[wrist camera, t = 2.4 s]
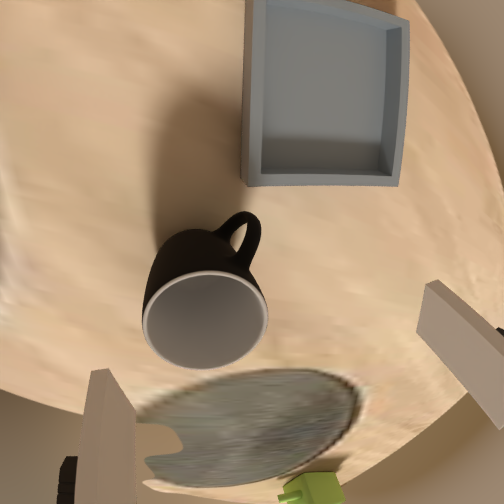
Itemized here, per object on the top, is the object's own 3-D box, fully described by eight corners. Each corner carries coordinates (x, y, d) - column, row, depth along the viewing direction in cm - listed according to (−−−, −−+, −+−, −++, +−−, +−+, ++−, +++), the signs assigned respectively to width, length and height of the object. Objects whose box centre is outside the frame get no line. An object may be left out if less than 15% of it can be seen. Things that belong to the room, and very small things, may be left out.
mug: (206, 312, 34) (222, 384, 25) (130, 274, 30) (120, 344, 21) (277, 221, 31) (321, 273, 22) (199, 168, 27) (215, 203, 18)
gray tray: (240, 178, 28) (248, 186, 26) (245, -6, 21) (254, -17, 18) (381, 178, 32) (398, 186, 29) (391, 24, 24) (409, 21, 21)
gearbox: (262, 487, 61) (271, 520, 52) (288, 471, 58) (299, 507, 50) (316, 486, 68) (326, 514, 60) (341, 470, 65) (353, 500, 57)
